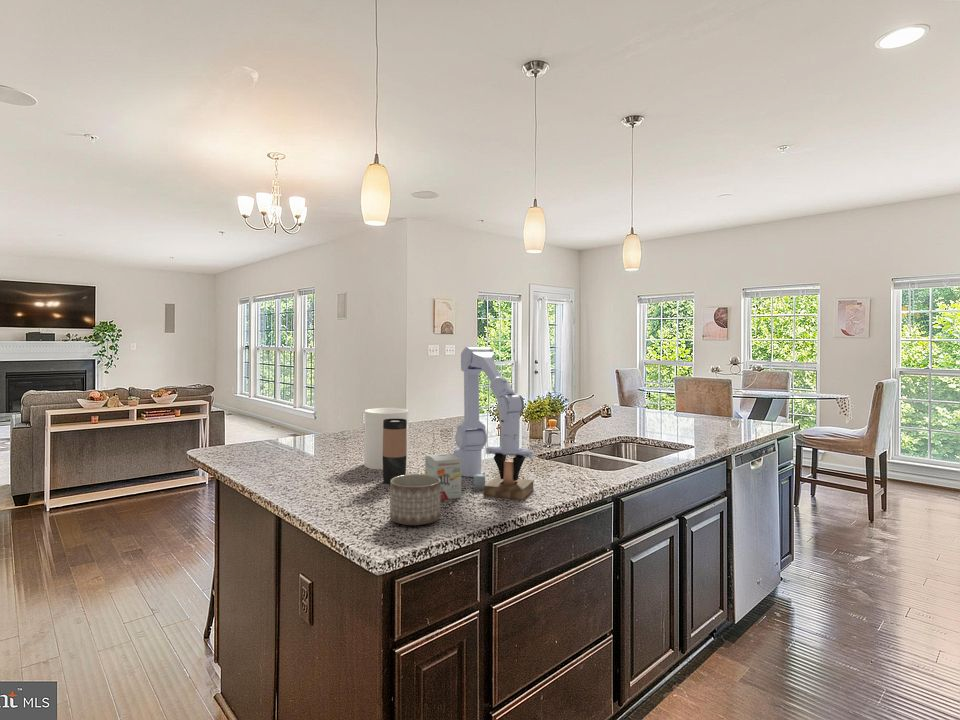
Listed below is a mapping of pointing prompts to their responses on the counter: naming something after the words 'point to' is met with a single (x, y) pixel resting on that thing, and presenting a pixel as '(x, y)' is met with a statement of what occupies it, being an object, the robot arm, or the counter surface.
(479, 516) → the counter surface
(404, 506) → the planter
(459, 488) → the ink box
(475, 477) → the short peg
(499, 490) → the socket block
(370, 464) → the canister
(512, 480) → the long peg
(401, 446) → the travel mug
